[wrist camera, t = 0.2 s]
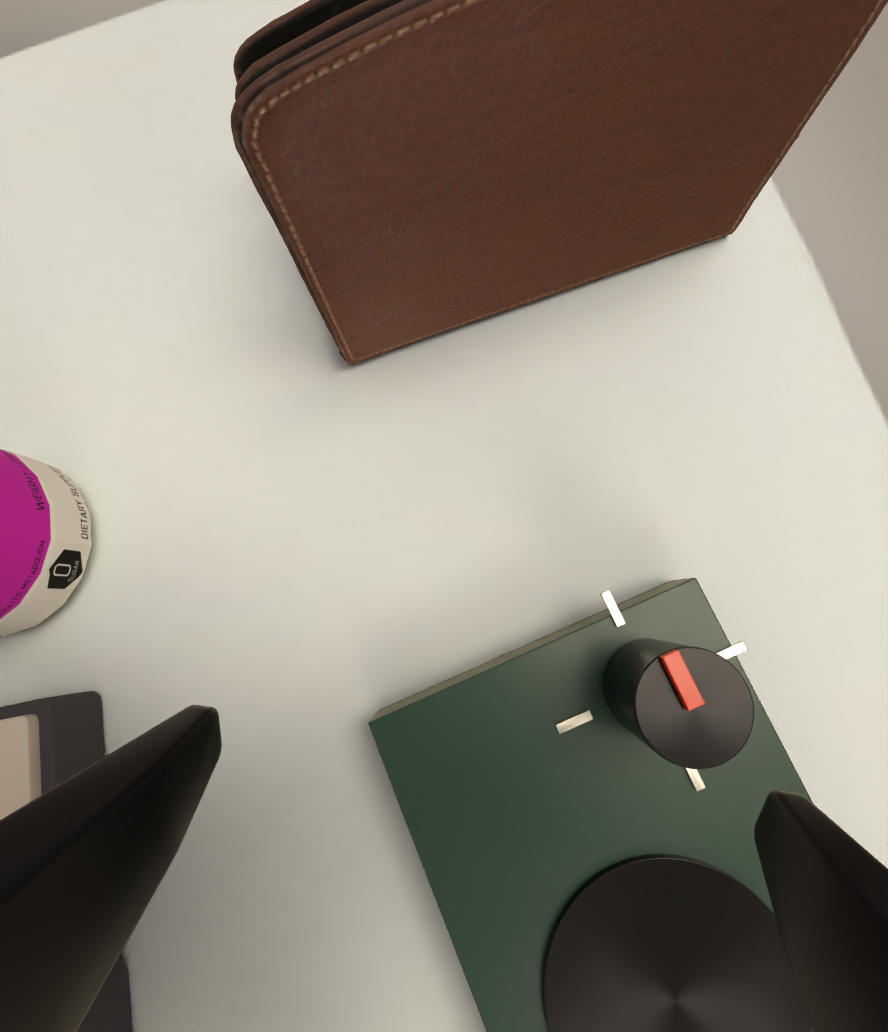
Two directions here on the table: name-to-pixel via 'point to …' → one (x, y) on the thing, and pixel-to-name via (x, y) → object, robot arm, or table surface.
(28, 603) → the supplement can
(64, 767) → the calculator
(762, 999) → the plate
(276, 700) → the table surface
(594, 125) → the letter holder
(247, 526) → the table surface
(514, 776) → the hot plate
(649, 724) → the hot plate knob
